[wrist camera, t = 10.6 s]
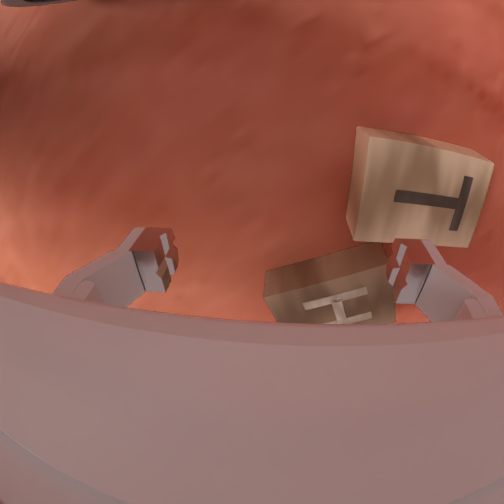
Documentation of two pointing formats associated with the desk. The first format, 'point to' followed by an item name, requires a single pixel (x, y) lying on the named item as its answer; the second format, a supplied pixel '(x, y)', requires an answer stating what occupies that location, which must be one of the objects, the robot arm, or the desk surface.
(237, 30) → the desk surface
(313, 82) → the desk surface
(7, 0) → the pocket watch
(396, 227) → the wooden letter t block
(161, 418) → the robot arm
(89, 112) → the desk surface
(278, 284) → the wooden letter h block
